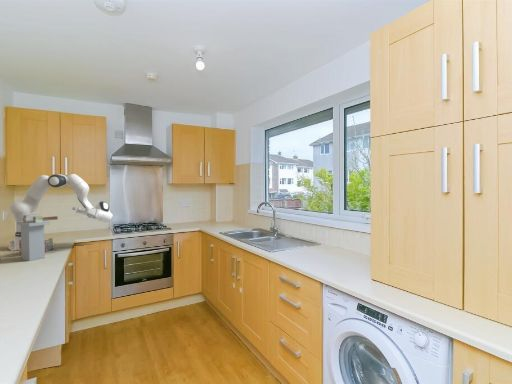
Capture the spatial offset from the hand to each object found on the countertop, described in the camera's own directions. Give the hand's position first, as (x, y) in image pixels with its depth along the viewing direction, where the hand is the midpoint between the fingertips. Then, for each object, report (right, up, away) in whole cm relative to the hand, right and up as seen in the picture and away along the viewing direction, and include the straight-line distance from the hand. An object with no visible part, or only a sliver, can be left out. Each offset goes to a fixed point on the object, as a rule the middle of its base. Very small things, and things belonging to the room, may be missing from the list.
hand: (75, 208), depth 222 cm
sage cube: (-9, -8, -27) cm, 30 cm away
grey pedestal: (-14, -34, -23) cm, 44 cm away
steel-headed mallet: (-12, -8, -20) cm, 24 cm away
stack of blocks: (-26, -34, -6) cm, 43 cm away
